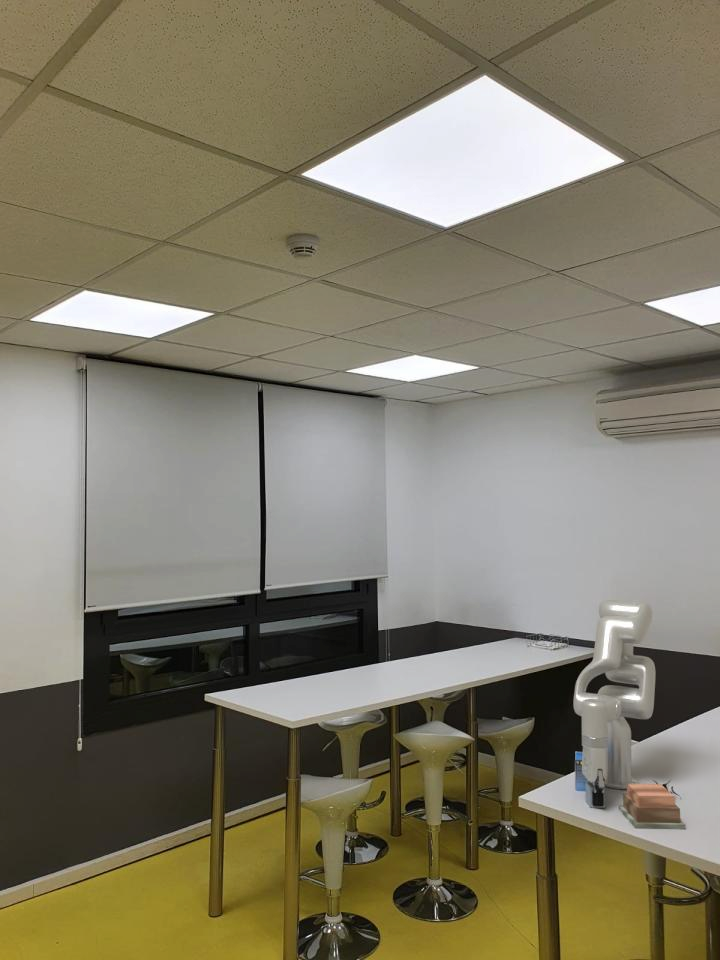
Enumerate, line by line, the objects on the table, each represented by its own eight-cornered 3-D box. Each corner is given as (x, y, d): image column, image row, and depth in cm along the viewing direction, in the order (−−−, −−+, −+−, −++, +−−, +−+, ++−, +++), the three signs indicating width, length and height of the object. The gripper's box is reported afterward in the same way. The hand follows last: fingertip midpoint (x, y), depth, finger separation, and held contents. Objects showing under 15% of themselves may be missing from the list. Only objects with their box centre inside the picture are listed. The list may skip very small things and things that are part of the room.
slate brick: (585, 802, 224) (585, 780, 225) (600, 802, 224) (600, 780, 225) (590, 807, 220) (589, 785, 220) (605, 808, 220) (604, 785, 220)
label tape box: (603, 789, 236) (602, 750, 237) (604, 793, 232) (603, 754, 233) (575, 786, 238) (574, 748, 239) (575, 790, 234) (574, 751, 235)
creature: (685, 806, 226) (672, 791, 233) (686, 790, 225) (673, 775, 233) (660, 806, 225) (648, 791, 233) (662, 790, 224) (650, 776, 232)
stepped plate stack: (618, 809, 219) (618, 781, 220) (665, 810, 219) (665, 782, 219) (635, 828, 205) (634, 798, 206) (685, 829, 205) (684, 799, 205)
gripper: (574, 733, 232) (575, 792, 231) (590, 749, 215) (591, 813, 214) (598, 733, 232) (599, 792, 231) (616, 749, 215) (616, 813, 214)
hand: (595, 801), depth 222 cm, fingers closed on slate brick, 4 cm apart
